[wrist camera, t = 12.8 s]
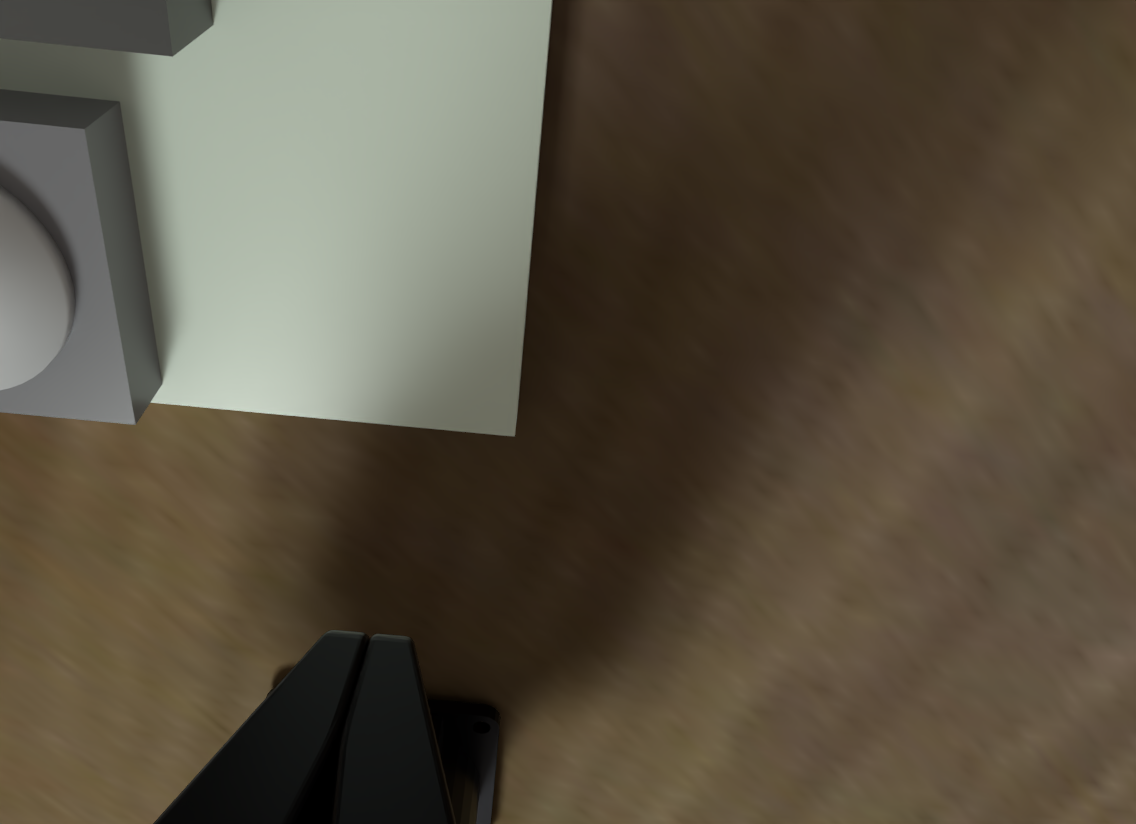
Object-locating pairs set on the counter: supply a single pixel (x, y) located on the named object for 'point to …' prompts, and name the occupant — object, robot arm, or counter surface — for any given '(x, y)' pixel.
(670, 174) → the counter surface
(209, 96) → the board
